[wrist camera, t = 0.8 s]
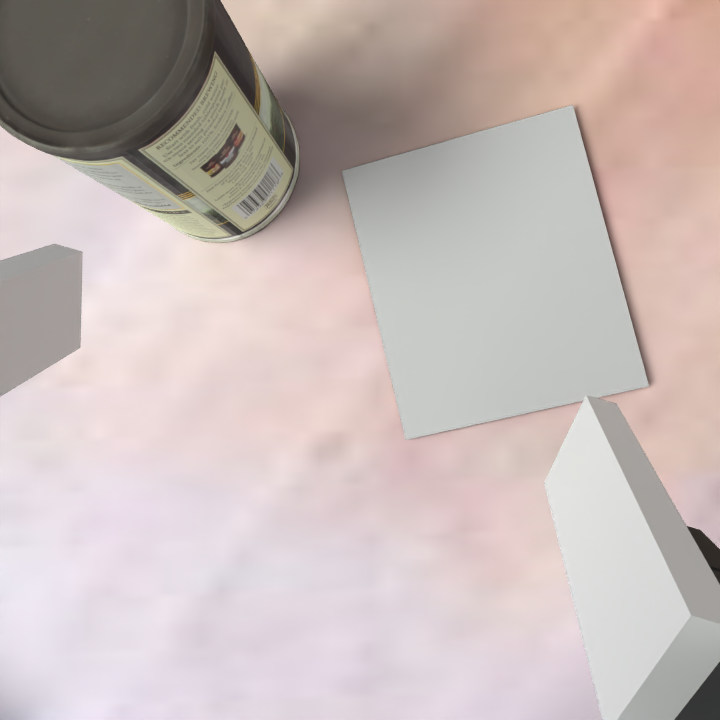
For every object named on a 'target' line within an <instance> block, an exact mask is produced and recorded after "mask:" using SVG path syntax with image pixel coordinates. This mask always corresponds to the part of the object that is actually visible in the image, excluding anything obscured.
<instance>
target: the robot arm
mask: <svg viewBox="0 0 720 720" xmlns="http://www.w3.org/2000/svg"><path fill="white" fill-rule="evenodd" d="M81 297H82V252H81V251H78V250H74V249H71V248H67V247H64V246H60V245H57V244H52V245H49V246H46V247H43V248H39V249H36V250H33V251H30V252H27V253H23V254H20V255H17V256H14V257H11V258H7V259H4V260H1V261H0V397H1V396H2V395H4V394H5V393H7V392H9V391H10V390H12V389H14V388H15V387H17V386H18V385H20V384H22V383H23V382H25V381H27V380H28V379H30V378H32V377H33V376H35V375H36V374H38V373H40V372H41V371H43V370H45V369H46V368H48V367H50V366H51V365H53V364H54V363H56V362H58V361H59V360H61V359H63V358H64V357H66V356H67V355H69V354H71V353H72V352H74V351H76V350H77V349H79V348H80V342H81ZM544 485H545V489H546V493H547V497H548V501H549V505H550V509H551V513H552V518H553V522H554V526H555V530H556V534H557V538H558V542H559V546H560V550H561V554H562V558H563V562H564V566H565V570H566V574H567V578H568V582H569V587H570V591H571V595H572V599H573V603H574V607H575V611H576V615H577V619H578V623H579V627H580V631H581V635H582V639H583V643H584V647H585V651H586V656H587V660H588V664H589V668H590V672H591V676H592V680H593V684H594V688H595V692H596V696H597V700H598V704H599V708H600V712H601V716H602V720H720V549H719V548H718V547H717V546H716V545H715V544H714V543H713V542H712V541H711V540H710V539H709V538H708V537H707V536H706V535H705V534H704V533H703V532H702V531H701V530H699V529H695V528H692V527H688V526H686V524H685V523H684V521H683V519H682V517H681V516H680V514H679V512H678V510H677V509H676V507H675V505H674V503H673V502H672V500H671V498H670V496H669V495H668V493H667V491H666V489H665V488H664V486H663V484H662V482H661V481H660V479H659V477H658V475H657V474H656V472H655V470H654V468H653V467H652V465H651V463H650V461H649V460H648V458H647V456H646V454H645V453H644V451H643V449H642V447H641V445H640V444H639V442H638V440H637V438H636V437H635V435H634V433H633V431H632V430H631V428H630V426H629V424H628V423H627V421H626V419H625V417H624V416H623V414H622V412H621V410H620V409H619V407H618V405H617V404H616V403H612V402H609V401H605V400H602V399H598V398H595V397H591V396H588V395H586V396H585V398H584V400H583V402H582V404H581V407H580V409H579V411H578V413H577V415H576V417H575V419H574V421H573V423H572V426H571V428H570V430H569V432H568V434H567V436H566V438H565V440H564V442H563V444H562V447H561V449H560V451H559V453H558V455H557V457H556V459H555V461H554V463H553V465H552V468H551V470H550V472H549V474H548V476H547V478H546V480H545V482H544Z"/></svg>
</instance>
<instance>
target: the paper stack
mask: <svg viewBox="0 0 720 720" xmlns="http://www.w3.org/2000/svg"><path fill="white" fill-rule="evenodd" d="M342 174H343V178H344V182H345V187H346V191H347V195H348V199H349V204H350V208H351V212H352V216H353V220H354V225H355V229H356V233H357V237H358V241H359V246H360V250H361V254H362V258H363V263H364V267H365V271H366V275H367V279H368V284H369V288H370V292H371V296H372V300H373V305H374V309H375V313H376V317H377V322H378V326H379V330H380V334H381V338H382V343H383V347H384V351H385V355H386V359H387V364H388V368H389V372H390V376H391V381H392V385H393V389H394V393H395V397H396V402H397V406H398V410H399V414H400V418H401V423H402V427H403V431H404V435H405V440H407V439H412V438H416V437H421V436H425V435H430V434H434V433H439V432H444V431H448V430H453V429H457V428H462V427H466V426H471V425H475V424H480V423H484V422H489V421H493V420H498V419H503V418H507V417H512V416H516V415H521V414H525V413H530V412H534V411H539V410H543V409H548V408H552V407H557V406H562V405H566V404H571V403H575V402H580V401H583V400H584V398H585V396H586V395H588V396H591V397H595V398H598V397H602V396H607V395H611V394H616V393H621V392H625V391H630V390H634V389H639V388H643V387H648V386H649V384H648V380H647V377H646V373H645V369H644V365H643V362H642V358H641V354H640V351H639V347H638V343H637V340H636V336H635V332H634V329H633V325H632V321H631V318H630V314H629V310H628V307H627V303H626V299H625V295H624V292H623V288H622V284H621V281H620V277H619V273H618V270H617V266H616V262H615V259H614V255H613V251H612V248H611V244H610V240H609V236H608V233H607V229H606V225H605V222H604V218H603V214H602V211H601V207H600V203H599V200H598V196H597V192H596V189H595V185H594V181H593V178H592V174H591V170H590V166H589V163H588V159H587V155H586V152H585V148H584V144H583V141H582V137H581V133H580V130H579V126H578V122H577V119H576V115H575V111H574V107H573V105H571V106H568V107H564V108H560V109H557V110H553V111H550V112H546V113H543V114H539V115H536V116H532V117H529V118H525V119H522V120H518V121H515V122H511V123H508V124H504V125H501V126H497V127H494V128H490V129H487V130H483V131H480V132H476V133H473V134H469V135H466V136H462V137H459V138H455V139H452V140H448V141H444V142H441V143H437V144H434V145H430V146H427V147H423V148H420V149H416V150H413V151H409V152H406V153H402V154H399V155H395V156H392V157H388V158H385V159H381V160H378V161H374V162H371V163H367V164H364V165H360V166H357V167H353V168H350V169H346V170H343V171H342Z"/></svg>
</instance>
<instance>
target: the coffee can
mask: <svg viewBox="0 0 720 720" xmlns="http://www.w3.org/2000/svg"><path fill="white" fill-rule="evenodd" d="M0 126H1V127H2V128H4V129H5V130H6V131H7V132H9V133H10V134H11V135H12V136H14V137H16V138H17V139H19V140H21V141H22V142H24V143H26V144H28V145H30V146H32V147H34V148H36V149H38V150H40V151H43V152H45V153H48V154H51V155H53V156H55V157H57V158H58V159H60V160H62V161H63V162H65V163H67V164H68V165H70V166H72V167H74V168H75V169H77V170H79V171H80V172H82V173H84V174H85V175H87V176H89V177H91V178H93V179H94V180H96V181H97V182H99V183H101V184H103V185H104V186H106V187H108V188H109V189H111V190H113V191H115V192H116V193H118V194H120V195H121V196H123V197H124V198H126V199H128V200H129V201H131V202H133V203H135V204H137V205H138V206H140V207H142V208H143V209H145V210H147V211H148V212H150V213H152V214H153V215H155V216H157V217H158V218H160V219H162V220H163V221H165V222H167V223H169V224H170V225H171V226H172V227H174V228H175V229H176V230H178V231H179V232H181V233H183V234H185V235H187V236H189V237H192V238H194V239H198V240H201V241H204V242H217V243H219V242H230V241H235V240H239V239H242V238H245V237H247V236H250V235H252V234H254V233H256V232H257V231H259V230H261V229H263V228H264V227H265V226H266V225H267V224H269V223H270V222H271V221H272V220H273V219H274V218H275V217H276V216H277V215H278V214H279V213H280V211H281V210H282V209H283V207H284V206H285V204H286V203H287V201H288V200H289V198H290V196H291V193H292V191H293V189H294V186H295V183H296V180H297V177H298V171H299V159H300V156H299V145H298V140H297V137H296V133H295V130H294V128H293V126H292V124H291V122H290V119H289V117H288V116H287V115H286V113H285V112H284V110H283V109H282V108H281V107H280V105H279V103H278V102H277V100H276V98H275V96H274V94H273V93H272V91H271V89H270V87H269V85H268V84H267V82H266V80H265V78H264V77H263V75H262V73H261V71H260V70H259V68H258V66H257V64H256V63H255V61H254V59H253V57H252V56H251V54H250V52H249V50H248V49H247V47H246V45H245V43H244V41H243V40H242V38H241V36H240V34H239V33H238V31H237V29H236V27H235V25H234V24H233V22H232V20H231V18H230V16H229V15H228V13H227V11H226V10H225V8H224V6H223V4H222V3H221V1H220V0H0Z"/></svg>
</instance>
